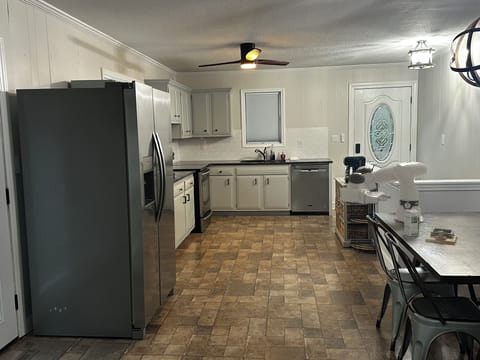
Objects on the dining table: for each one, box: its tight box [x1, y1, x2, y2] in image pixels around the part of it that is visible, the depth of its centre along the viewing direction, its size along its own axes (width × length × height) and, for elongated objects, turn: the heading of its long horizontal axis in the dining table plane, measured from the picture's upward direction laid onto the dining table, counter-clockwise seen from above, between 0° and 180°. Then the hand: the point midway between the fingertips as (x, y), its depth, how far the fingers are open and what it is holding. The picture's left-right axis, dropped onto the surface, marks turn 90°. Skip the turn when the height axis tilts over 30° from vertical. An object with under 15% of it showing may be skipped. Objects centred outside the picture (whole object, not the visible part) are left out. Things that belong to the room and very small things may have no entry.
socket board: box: [425, 227, 458, 245], centre depth 233 cm, size 18×14×6 cm
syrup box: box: [403, 210, 420, 237], centre depth 242 cm, size 6×6×14 cm
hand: (388, 198), depth 247 cm, fingers open, 8 cm apart
